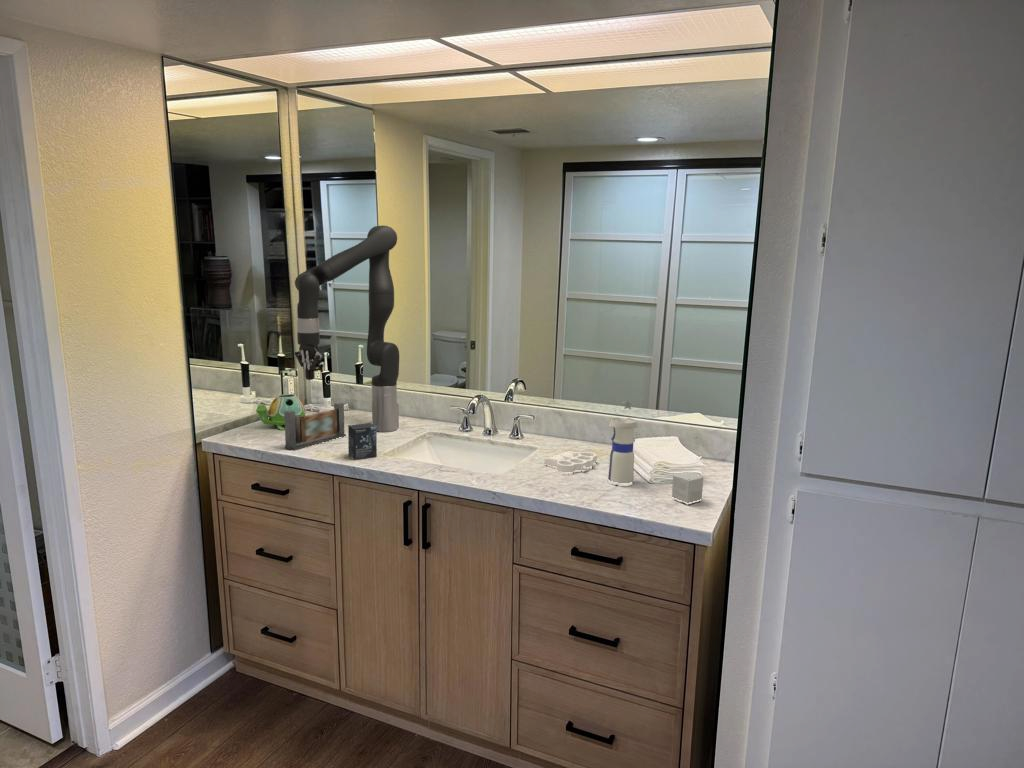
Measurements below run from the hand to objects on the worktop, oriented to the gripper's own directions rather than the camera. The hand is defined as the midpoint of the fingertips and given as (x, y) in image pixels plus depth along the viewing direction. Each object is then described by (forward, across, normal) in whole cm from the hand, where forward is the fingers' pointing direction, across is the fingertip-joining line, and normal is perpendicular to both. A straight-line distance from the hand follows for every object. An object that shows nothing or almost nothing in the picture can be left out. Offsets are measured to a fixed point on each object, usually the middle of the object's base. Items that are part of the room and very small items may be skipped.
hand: (309, 379), depth 250 cm
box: (+21, -32, +6) cm, 39 cm away
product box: (+21, -133, -20) cm, 136 cm away
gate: (+20, -7, +4) cm, 21 cm away
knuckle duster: (+22, -92, -28) cm, 99 cm away
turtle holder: (+21, +19, -3) cm, 29 cm away
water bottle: (+21, -111, -23) cm, 115 cm away
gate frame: (+21, -7, +4) cm, 22 cm away
